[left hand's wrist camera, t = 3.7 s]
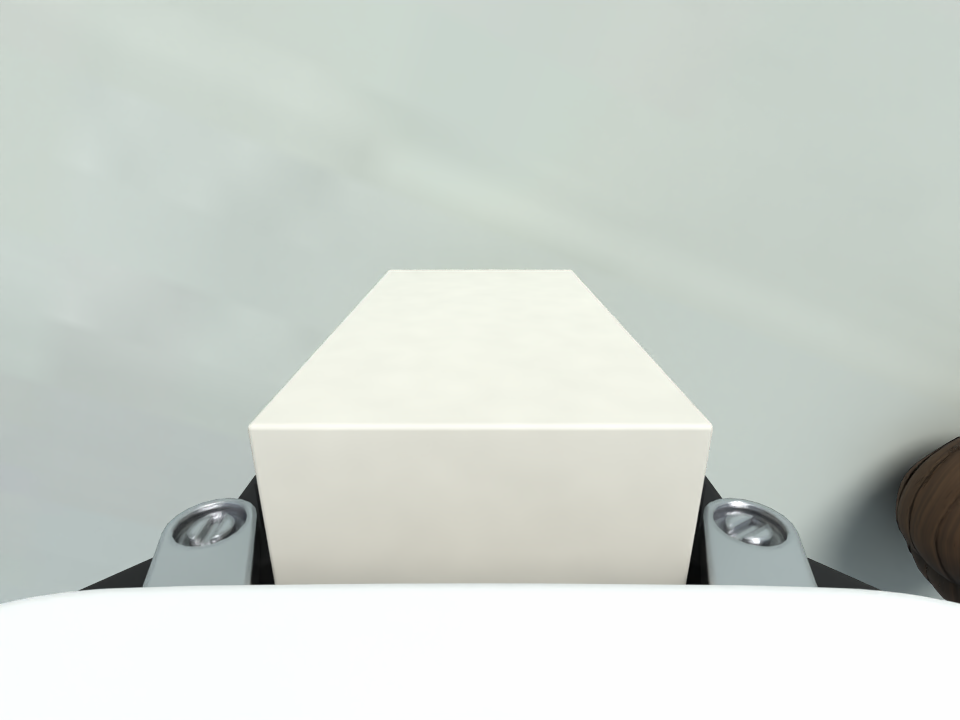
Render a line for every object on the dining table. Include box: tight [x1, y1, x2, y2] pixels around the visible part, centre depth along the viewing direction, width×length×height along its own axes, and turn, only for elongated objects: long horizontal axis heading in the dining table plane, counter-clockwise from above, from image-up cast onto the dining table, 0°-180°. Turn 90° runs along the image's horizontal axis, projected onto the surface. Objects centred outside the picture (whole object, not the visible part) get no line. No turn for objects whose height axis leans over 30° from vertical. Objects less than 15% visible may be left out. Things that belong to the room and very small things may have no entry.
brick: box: [248, 270, 713, 585], centre depth 12 cm, size 5×6×10 cm
